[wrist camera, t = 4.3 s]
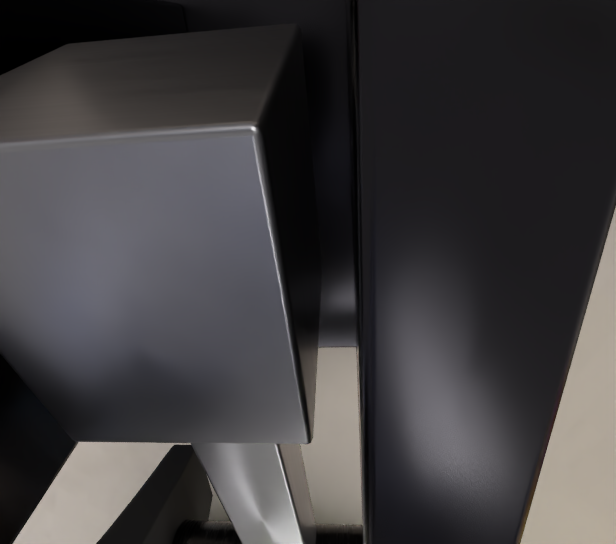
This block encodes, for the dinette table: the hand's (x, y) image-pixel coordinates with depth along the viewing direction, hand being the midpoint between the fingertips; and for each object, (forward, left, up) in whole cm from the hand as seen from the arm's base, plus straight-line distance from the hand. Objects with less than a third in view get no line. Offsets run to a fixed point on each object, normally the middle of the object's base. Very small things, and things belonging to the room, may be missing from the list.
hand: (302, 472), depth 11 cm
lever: (+4, 0, +2) cm, 5 cm away
